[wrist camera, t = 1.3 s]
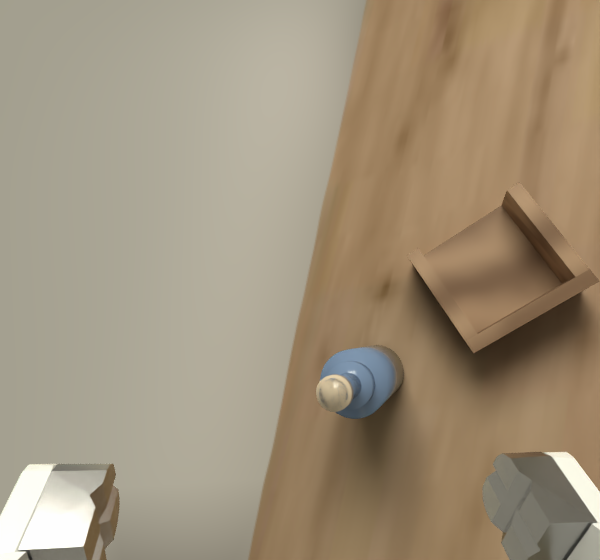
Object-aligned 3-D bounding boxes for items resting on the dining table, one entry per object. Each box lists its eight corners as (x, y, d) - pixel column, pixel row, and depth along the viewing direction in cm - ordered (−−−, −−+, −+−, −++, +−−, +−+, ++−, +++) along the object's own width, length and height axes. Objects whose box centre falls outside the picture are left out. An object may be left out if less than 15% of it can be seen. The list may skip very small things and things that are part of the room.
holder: (412, 264, 47) (406, 255, 41) (511, 200, 44) (519, 182, 39) (471, 350, 44) (473, 353, 39) (580, 287, 42) (599, 281, 36)
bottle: (401, 344, 46) (370, 351, 29) (405, 397, 46) (376, 435, 29) (350, 346, 48) (293, 354, 31) (354, 398, 47) (297, 434, 30)
